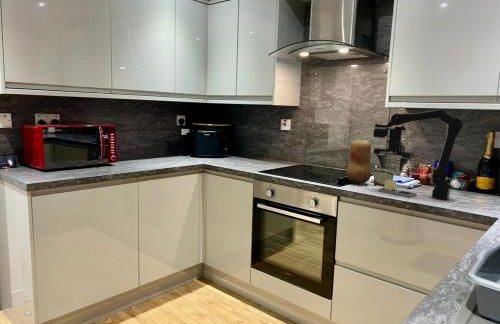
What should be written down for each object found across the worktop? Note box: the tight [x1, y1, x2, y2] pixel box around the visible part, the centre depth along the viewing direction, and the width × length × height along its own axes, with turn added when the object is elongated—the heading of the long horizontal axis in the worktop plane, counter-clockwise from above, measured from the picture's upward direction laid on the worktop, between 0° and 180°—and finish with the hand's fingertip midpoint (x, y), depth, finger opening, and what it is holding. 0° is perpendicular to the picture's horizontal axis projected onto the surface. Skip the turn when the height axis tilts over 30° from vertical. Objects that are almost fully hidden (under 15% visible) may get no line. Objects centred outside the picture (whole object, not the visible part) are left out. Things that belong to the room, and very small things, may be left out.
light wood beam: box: [383, 179, 397, 191], centre depth 188 cm, size 4×4×6 cm
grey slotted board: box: [377, 187, 418, 199], centre depth 185 cm, size 16×8×2 cm, turn 44°
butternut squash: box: [345, 139, 372, 185], centre depth 210 cm, size 14×13×25 cm
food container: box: [372, 167, 396, 188], centre depth 204 cm, size 12×6×10 cm, turn 41°
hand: (391, 170), depth 187 cm, fingers open, 9 cm apart
